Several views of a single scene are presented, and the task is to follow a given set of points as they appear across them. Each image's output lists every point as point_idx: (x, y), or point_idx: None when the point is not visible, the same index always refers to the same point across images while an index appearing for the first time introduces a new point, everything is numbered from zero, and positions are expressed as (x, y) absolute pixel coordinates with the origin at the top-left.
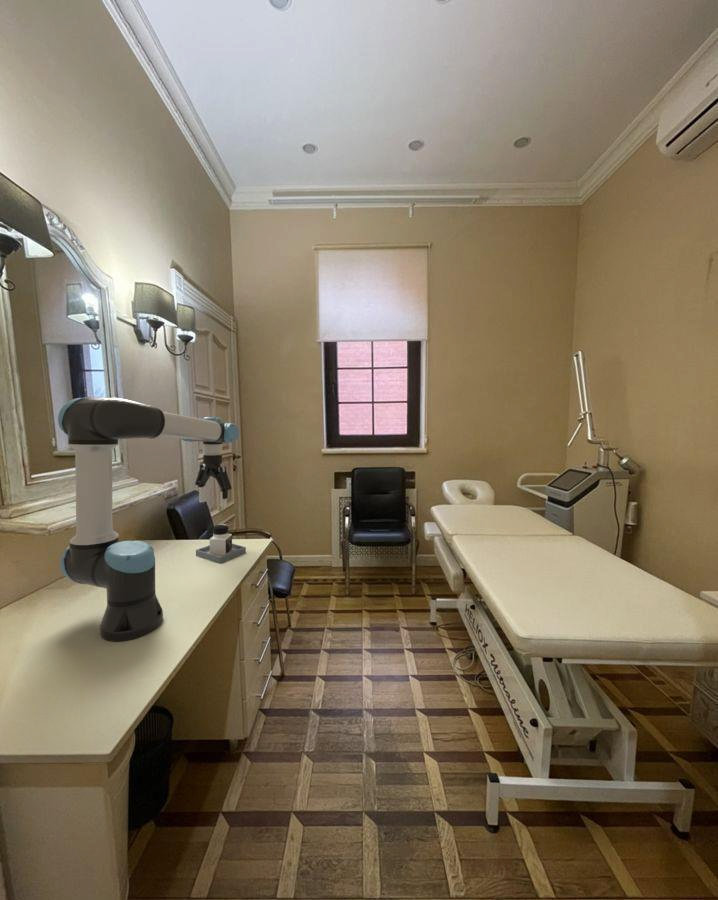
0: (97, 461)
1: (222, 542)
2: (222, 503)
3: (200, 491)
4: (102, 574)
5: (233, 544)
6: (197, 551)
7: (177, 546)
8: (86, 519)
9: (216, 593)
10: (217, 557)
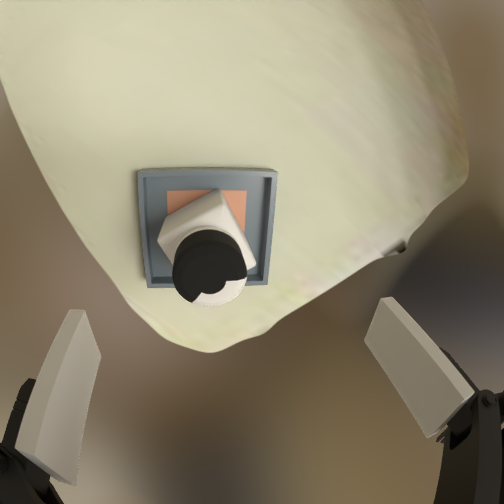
0: None
1: (170, 227)
2: (61, 340)
3: (440, 369)
4: None
5: None
6: (266, 171)
7: (382, 196)
8: None
9: (16, 64)
10: (147, 171)
